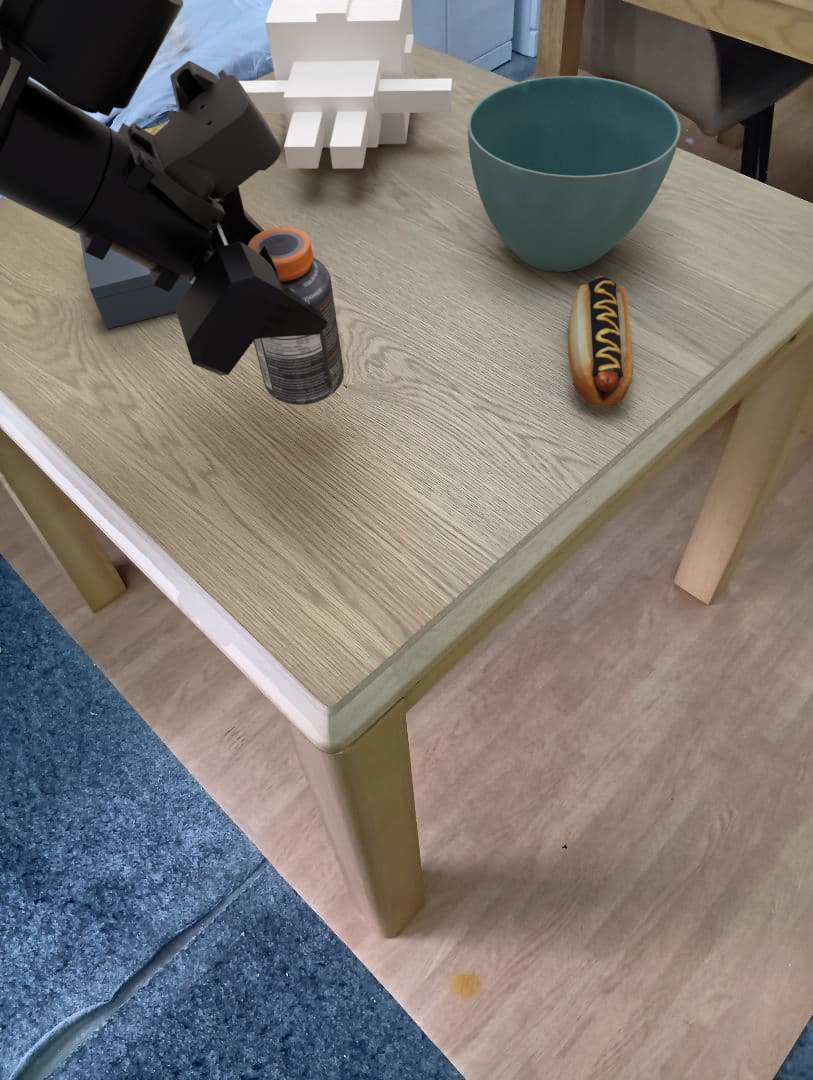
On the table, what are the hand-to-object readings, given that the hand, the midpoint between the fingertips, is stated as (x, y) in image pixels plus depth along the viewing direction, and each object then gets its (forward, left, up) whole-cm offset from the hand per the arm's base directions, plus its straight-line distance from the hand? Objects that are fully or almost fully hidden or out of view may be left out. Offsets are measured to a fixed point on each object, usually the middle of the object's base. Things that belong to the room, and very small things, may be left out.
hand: (310, 300), depth 53 cm
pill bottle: (-1, 0, -7) cm, 7 cm away
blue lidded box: (-9, +28, -13) cm, 32 cm away
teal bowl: (+28, +17, -14) cm, 35 cm away
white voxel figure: (+15, +46, -14) cm, 50 cm away
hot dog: (+23, 0, -14) cm, 27 cm away
